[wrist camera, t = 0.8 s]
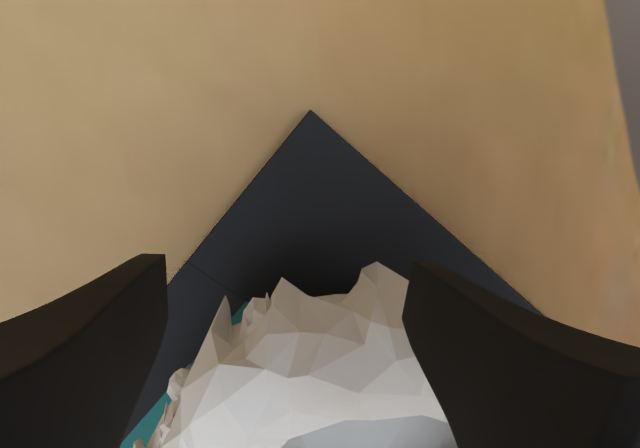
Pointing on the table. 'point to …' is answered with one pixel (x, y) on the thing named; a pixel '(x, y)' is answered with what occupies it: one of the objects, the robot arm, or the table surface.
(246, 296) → the mat
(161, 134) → the table surface
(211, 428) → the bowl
